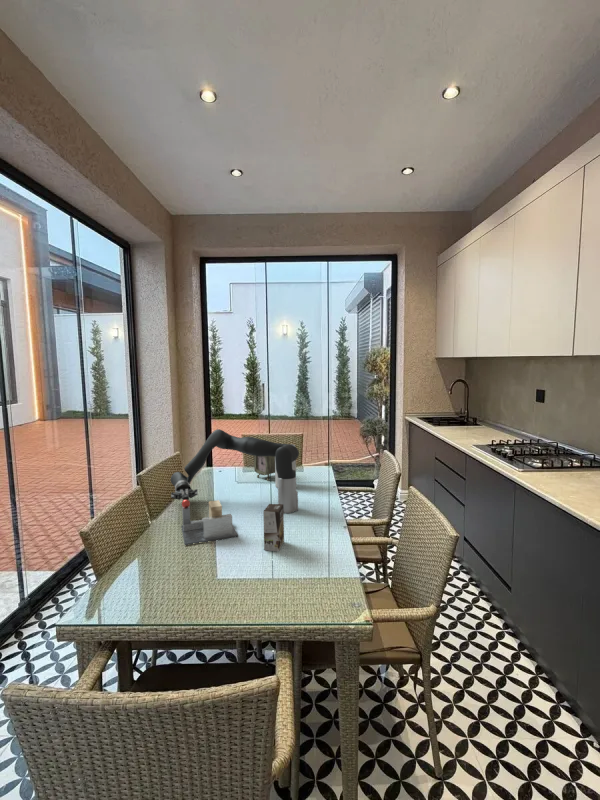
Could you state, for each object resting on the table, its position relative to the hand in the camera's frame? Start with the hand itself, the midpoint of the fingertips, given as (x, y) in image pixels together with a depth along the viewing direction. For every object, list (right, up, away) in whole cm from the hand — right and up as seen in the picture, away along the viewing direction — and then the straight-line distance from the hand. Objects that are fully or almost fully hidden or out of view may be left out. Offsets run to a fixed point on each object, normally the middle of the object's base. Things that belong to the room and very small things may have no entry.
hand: (186, 499), depth 183 cm
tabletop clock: (+31, -5, +74) cm, 80 cm away
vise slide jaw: (+11, -11, -6) cm, 17 cm away
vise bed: (+13, -12, -10) cm, 20 cm away
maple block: (+16, -11, -10) cm, 22 cm away
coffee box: (+43, -13, -24) cm, 51 cm away
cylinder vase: (+45, -7, +55) cm, 71 cm away
